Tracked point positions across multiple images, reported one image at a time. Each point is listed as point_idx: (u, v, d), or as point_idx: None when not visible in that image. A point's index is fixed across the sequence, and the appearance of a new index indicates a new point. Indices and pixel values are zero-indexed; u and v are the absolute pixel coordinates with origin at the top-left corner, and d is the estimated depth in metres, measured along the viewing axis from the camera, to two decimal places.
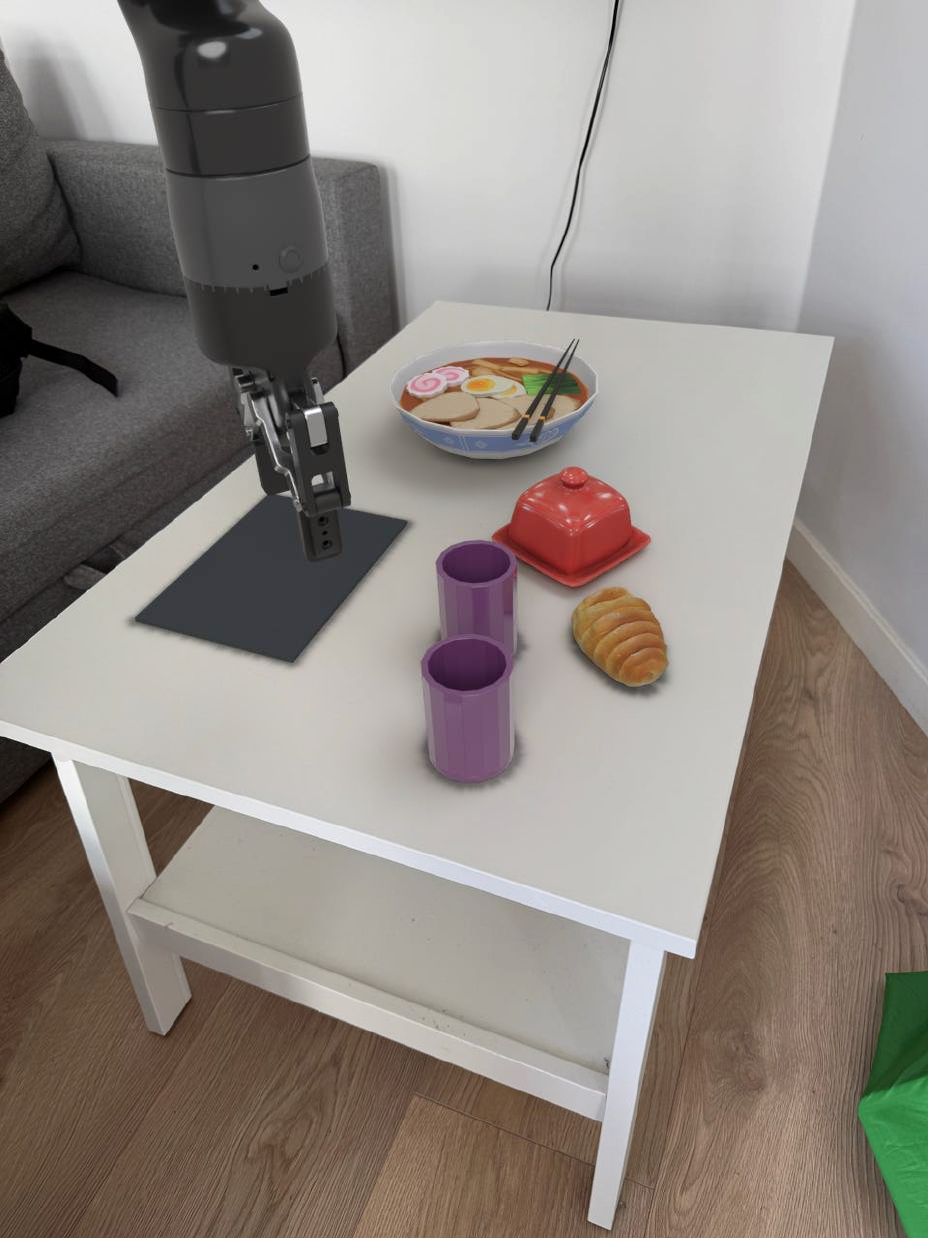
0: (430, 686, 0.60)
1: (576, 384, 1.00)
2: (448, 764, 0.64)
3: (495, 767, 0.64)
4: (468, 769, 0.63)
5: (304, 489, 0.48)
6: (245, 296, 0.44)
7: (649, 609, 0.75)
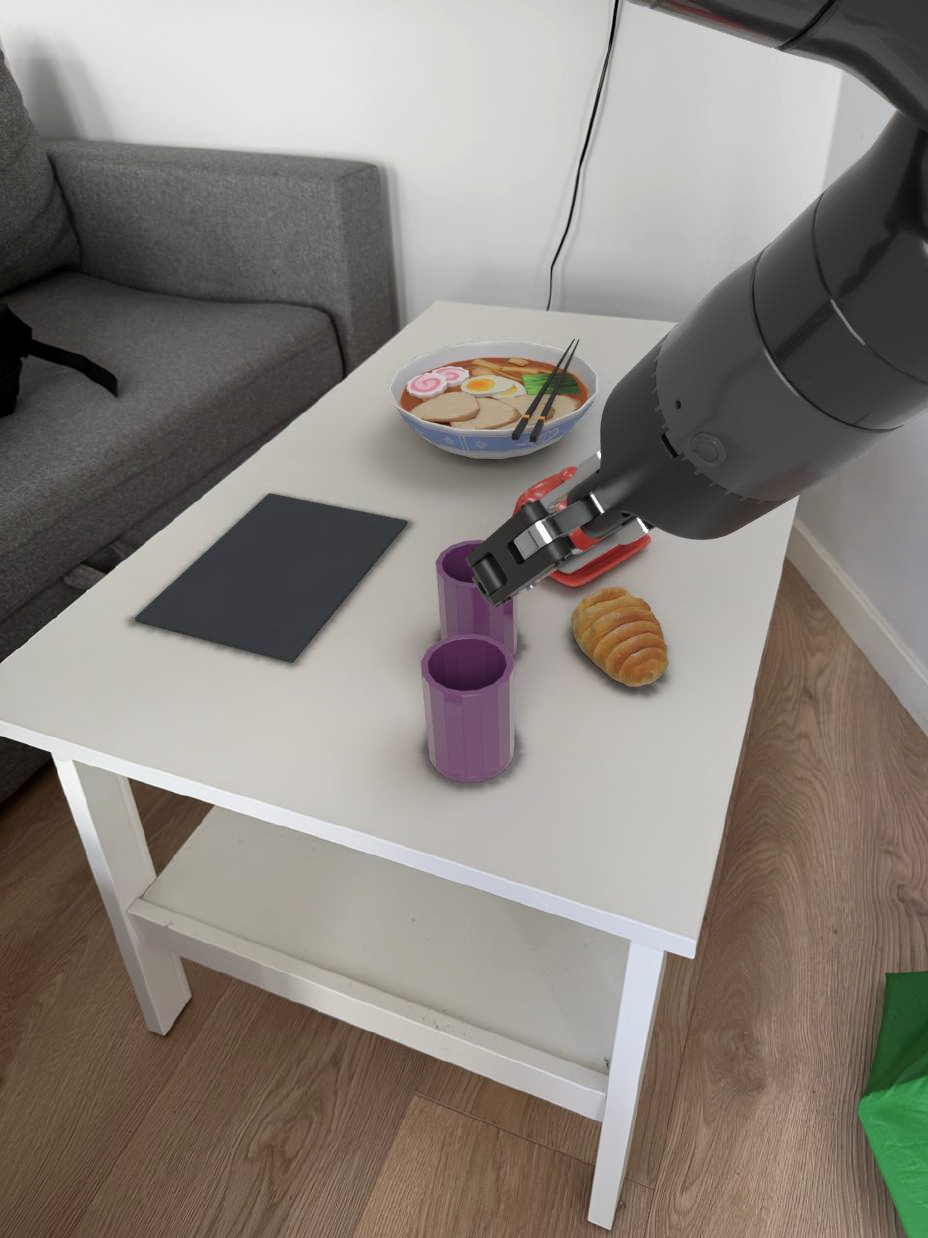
0: (430, 686, 0.60)
1: (576, 384, 1.00)
2: (448, 764, 0.64)
3: (495, 767, 0.64)
4: (468, 769, 0.63)
5: (479, 545, 0.38)
6: (650, 403, 0.32)
7: (649, 609, 0.75)
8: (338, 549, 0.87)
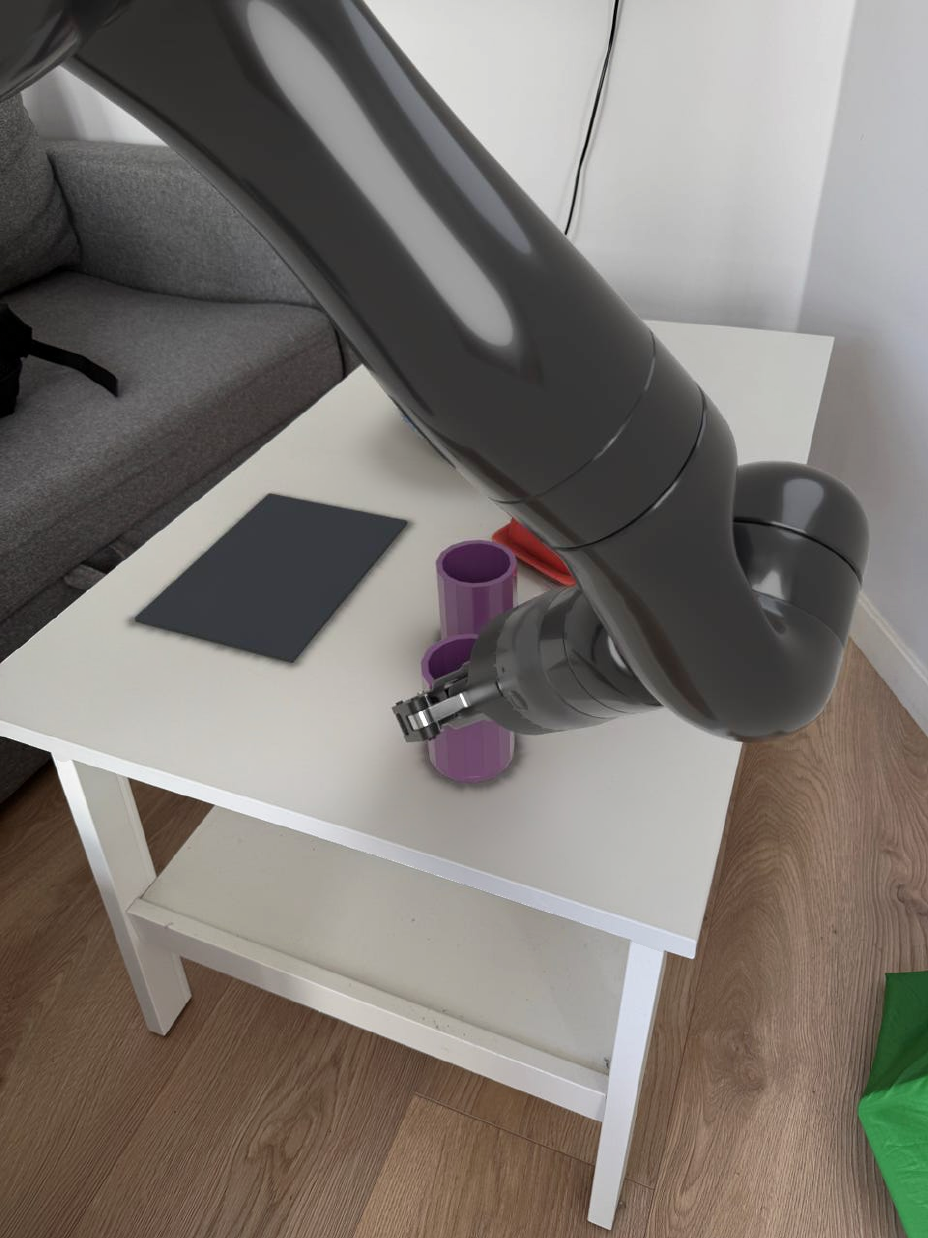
0: (430, 685, 0.60)
1: None
2: (448, 764, 0.64)
3: (495, 767, 0.64)
4: (468, 769, 0.63)
5: (395, 706, 0.57)
6: (492, 660, 0.49)
7: None
8: (338, 549, 0.87)
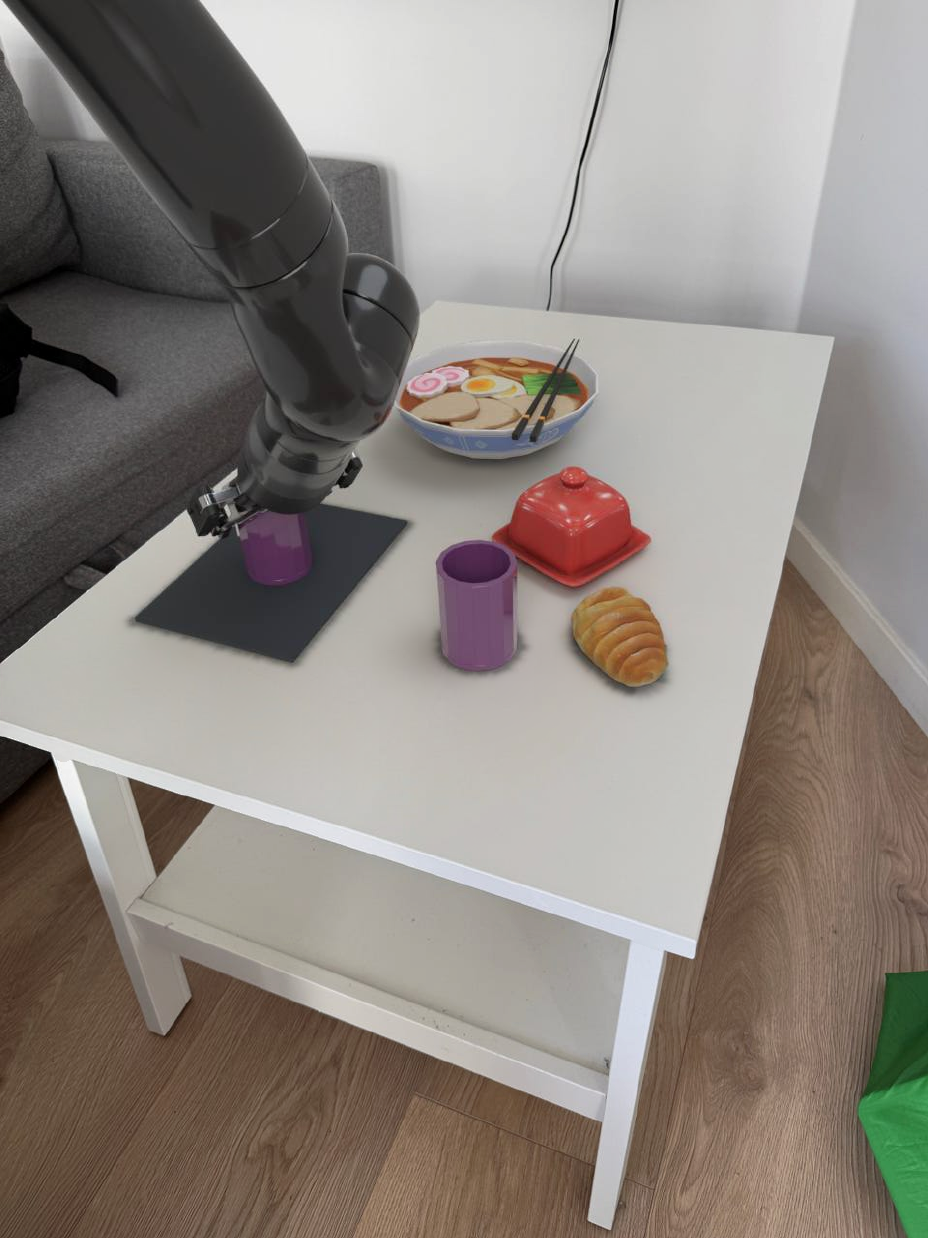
0: None
1: (576, 384, 1.00)
2: (255, 569, 0.82)
3: (292, 573, 0.82)
4: (270, 573, 0.82)
5: (188, 504, 0.74)
6: (243, 446, 0.67)
7: (649, 609, 0.75)
8: (338, 549, 0.87)
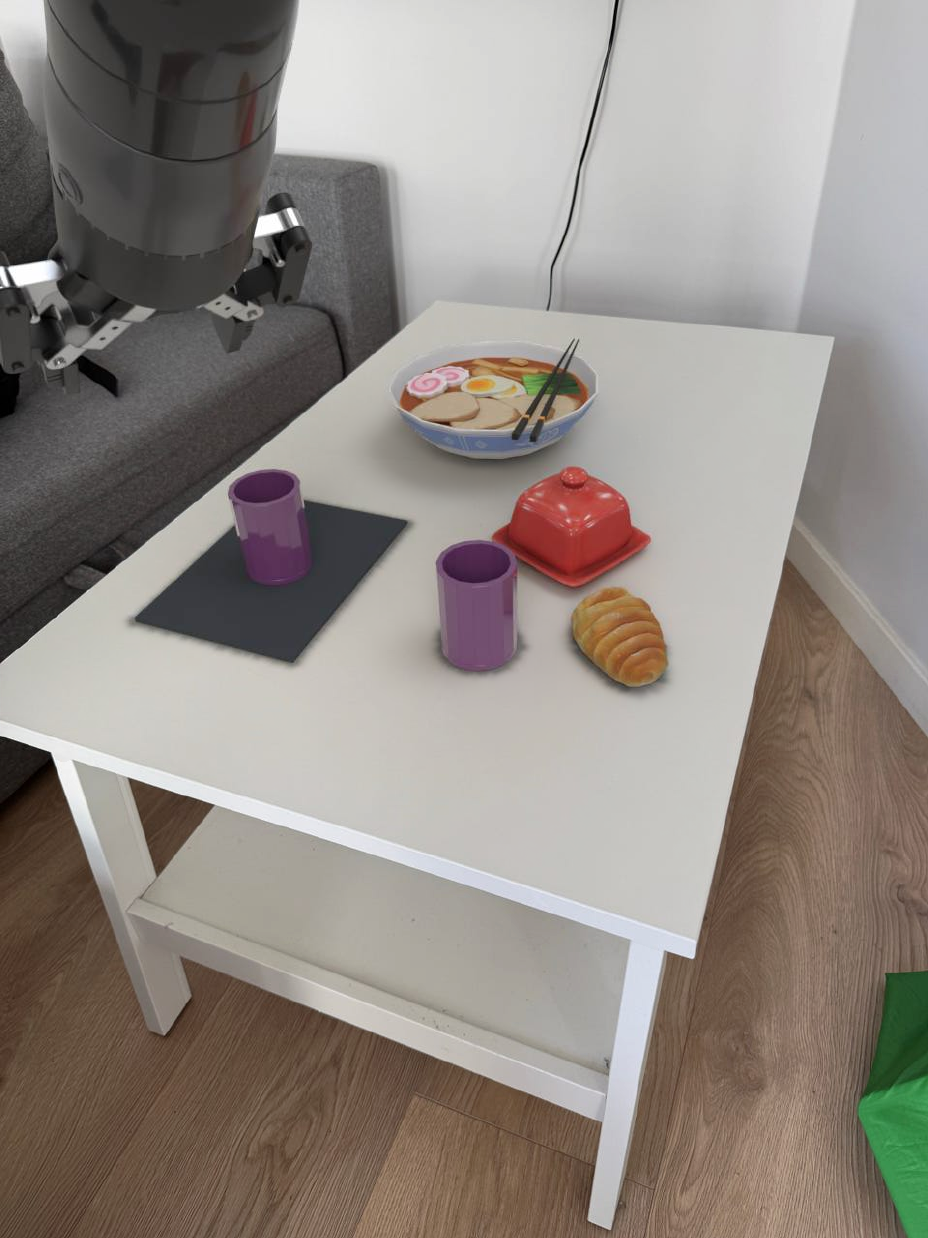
0: (232, 500, 0.78)
1: (576, 384, 1.00)
2: (255, 569, 0.82)
3: (292, 573, 0.82)
4: (270, 573, 0.82)
5: None
6: None
7: (649, 609, 0.75)
8: (338, 549, 0.87)
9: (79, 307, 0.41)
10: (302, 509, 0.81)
